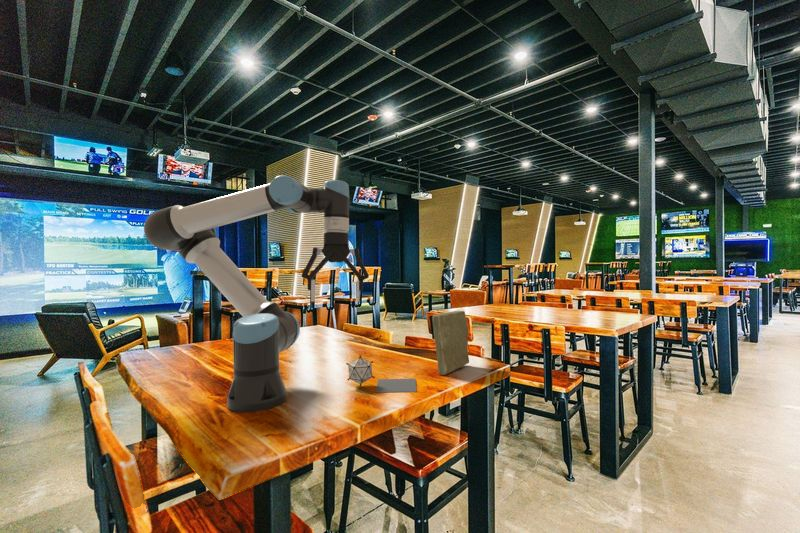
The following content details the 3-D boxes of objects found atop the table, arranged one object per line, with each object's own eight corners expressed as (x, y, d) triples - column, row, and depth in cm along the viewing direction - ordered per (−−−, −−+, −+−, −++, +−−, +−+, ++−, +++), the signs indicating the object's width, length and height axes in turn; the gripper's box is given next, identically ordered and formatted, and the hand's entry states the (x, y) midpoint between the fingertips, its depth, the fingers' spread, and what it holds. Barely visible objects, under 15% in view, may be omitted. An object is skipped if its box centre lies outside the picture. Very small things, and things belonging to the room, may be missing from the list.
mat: (375, 393, 106) (375, 392, 106) (378, 380, 118) (378, 379, 118) (416, 392, 106) (416, 391, 106) (415, 379, 118) (415, 378, 118)
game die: (377, 382, 116) (376, 351, 116) (372, 392, 108) (372, 358, 107) (349, 382, 117) (349, 351, 117) (343, 391, 108) (342, 357, 108)
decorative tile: (447, 376, 121) (446, 316, 121) (432, 373, 124) (431, 315, 124) (472, 364, 136) (472, 310, 136) (458, 361, 139) (457, 309, 139)
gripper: (292, 230, 107) (291, 302, 108) (377, 232, 109) (376, 302, 109) (297, 232, 115) (296, 299, 115) (376, 234, 117) (375, 300, 117)
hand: (335, 301), depth 112 cm, fingers open, 13 cm apart
